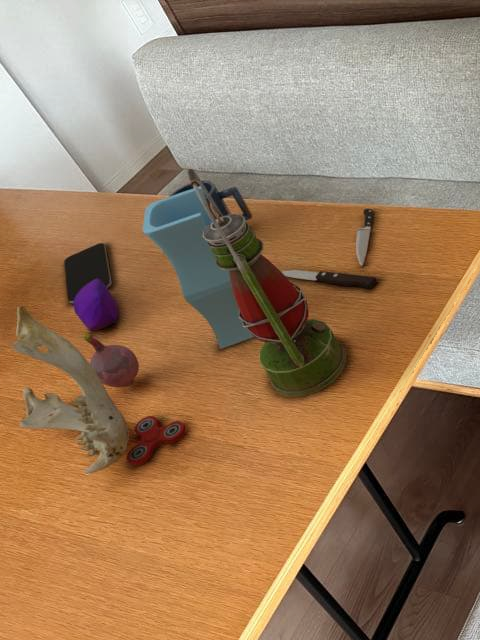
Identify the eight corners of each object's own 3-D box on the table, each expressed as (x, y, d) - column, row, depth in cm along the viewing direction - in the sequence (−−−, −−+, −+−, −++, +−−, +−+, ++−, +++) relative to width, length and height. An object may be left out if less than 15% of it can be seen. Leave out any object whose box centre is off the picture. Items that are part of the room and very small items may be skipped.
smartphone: (67, 302, 131) (63, 258, 141) (70, 306, 131) (66, 261, 141) (110, 283, 132) (103, 241, 142) (113, 286, 132) (105, 244, 142)
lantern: (358, 380, 104) (249, 181, 82) (282, 417, 102) (150, 224, 81) (332, 322, 113) (228, 130, 92) (262, 355, 112) (139, 168, 90)
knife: (351, 266, 120) (364, 268, 121) (351, 262, 120) (365, 264, 120) (360, 211, 130) (373, 212, 131) (361, 207, 130) (373, 209, 130)
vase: (272, 330, 115) (201, 215, 101) (220, 349, 115) (141, 236, 100) (270, 298, 120) (202, 185, 106) (220, 316, 120) (145, 204, 106)
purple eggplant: (102, 262, 130) (100, 305, 119) (120, 286, 133) (120, 330, 122) (73, 274, 129) (69, 319, 118) (92, 298, 133) (90, 344, 122)
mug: (194, 261, 132) (164, 216, 126) (194, 236, 138) (165, 191, 131) (259, 238, 133) (233, 192, 126) (257, 213, 138) (231, 168, 132)
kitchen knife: (371, 290, 116) (378, 281, 118) (369, 285, 116) (376, 276, 117) (276, 278, 124) (283, 269, 125) (273, 273, 123) (280, 265, 124)
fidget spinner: (122, 463, 101) (128, 469, 102) (177, 448, 101) (182, 455, 101) (135, 417, 106) (140, 423, 107) (187, 403, 106) (192, 409, 107)
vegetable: (128, 366, 116) (85, 316, 109) (159, 371, 114) (118, 319, 107) (101, 397, 113) (55, 347, 106) (132, 403, 110) (88, 351, 103)
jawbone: (146, 391, 96) (51, 405, 89) (145, 507, 104) (58, 527, 98) (83, 297, 110) (-3, 303, 103) (87, 407, 119) (8, 418, 112)
